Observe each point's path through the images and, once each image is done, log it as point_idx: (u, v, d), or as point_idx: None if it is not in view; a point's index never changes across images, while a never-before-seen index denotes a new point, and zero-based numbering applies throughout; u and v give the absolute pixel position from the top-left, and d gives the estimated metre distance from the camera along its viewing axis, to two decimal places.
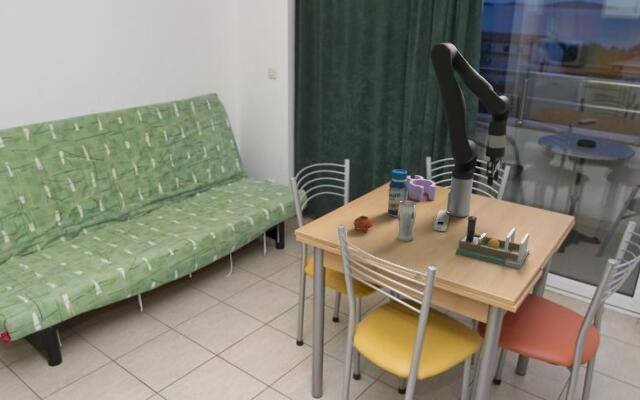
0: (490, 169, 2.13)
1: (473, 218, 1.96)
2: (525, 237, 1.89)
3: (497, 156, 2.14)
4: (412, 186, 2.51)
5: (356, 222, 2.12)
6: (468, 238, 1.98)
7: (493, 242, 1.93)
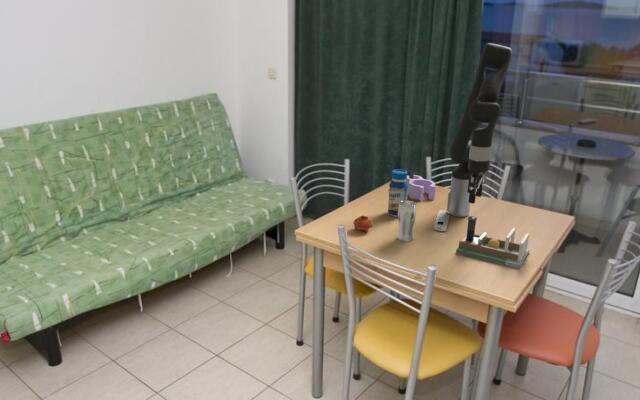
0: (472, 185, 1.86)
1: (473, 218, 1.96)
2: (525, 237, 1.89)
3: (481, 170, 1.86)
4: (412, 186, 2.51)
5: (356, 222, 2.12)
6: (468, 238, 1.98)
7: (493, 242, 1.93)
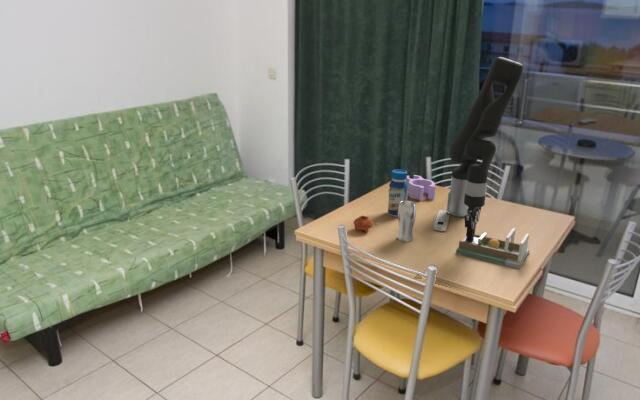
0: (468, 223, 1.92)
1: None
2: (525, 237, 1.89)
3: (476, 206, 1.91)
4: (412, 186, 2.52)
5: (356, 222, 2.12)
6: (468, 238, 1.98)
7: (493, 242, 1.93)
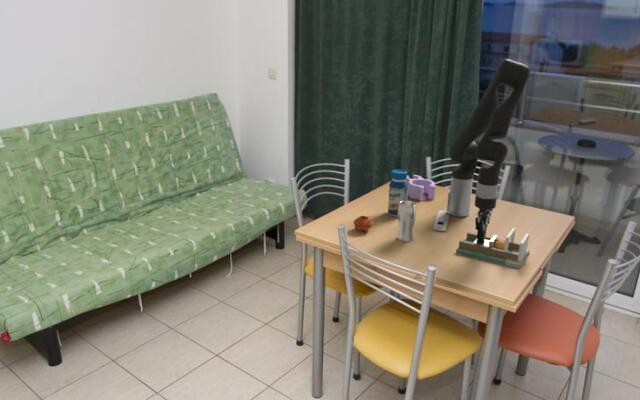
0: (479, 225, 1.90)
1: None
2: (525, 237, 1.89)
3: (487, 208, 1.89)
4: (412, 186, 2.52)
5: (356, 222, 2.12)
6: (479, 240, 1.96)
7: (503, 246, 1.92)
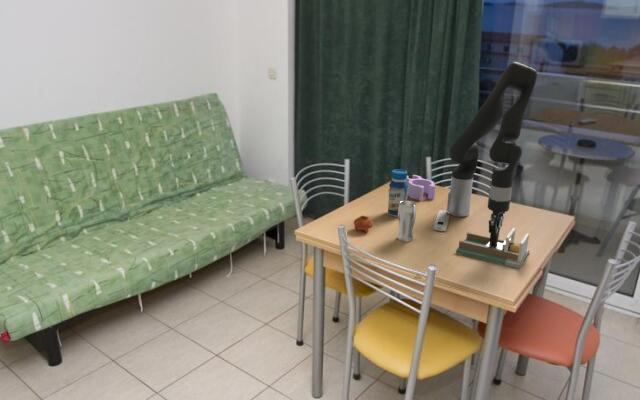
0: (493, 228, 1.87)
1: None
2: (525, 237, 1.89)
3: (501, 210, 1.86)
4: (412, 186, 2.51)
5: (356, 222, 2.12)
6: (491, 243, 1.94)
7: None
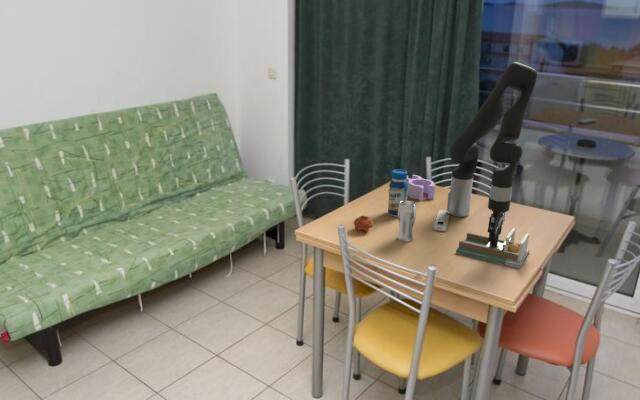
0: (493, 225, 1.86)
1: None
2: (525, 237, 1.89)
3: (501, 210, 1.86)
4: (411, 186, 2.52)
5: (356, 222, 2.12)
6: (492, 243, 1.94)
7: None
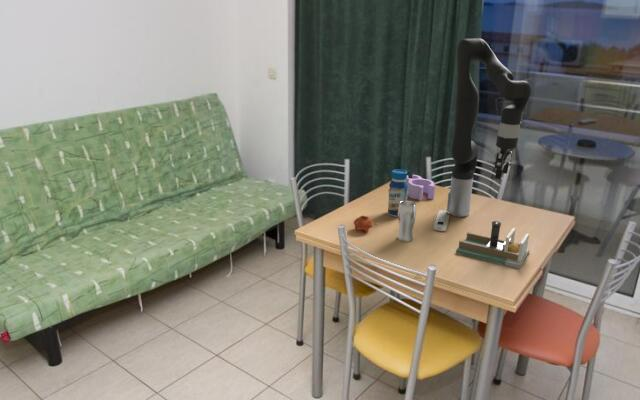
0: (500, 161, 1.92)
1: (497, 223, 1.91)
2: (525, 237, 1.89)
3: (508, 147, 1.93)
4: (411, 186, 2.52)
5: (356, 222, 2.12)
6: (492, 243, 1.94)
7: None
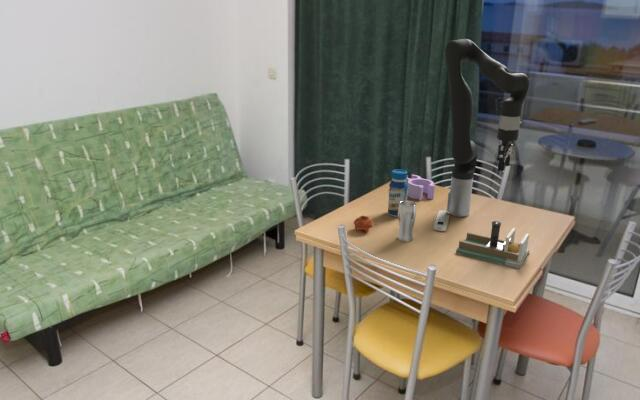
0: (502, 153, 1.95)
1: (497, 223, 1.91)
2: (525, 237, 1.89)
3: (510, 139, 1.95)
4: (411, 186, 2.52)
5: (356, 222, 2.12)
6: (492, 243, 1.94)
7: None
